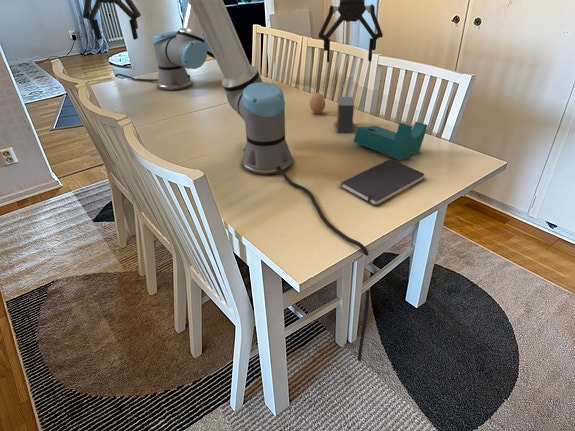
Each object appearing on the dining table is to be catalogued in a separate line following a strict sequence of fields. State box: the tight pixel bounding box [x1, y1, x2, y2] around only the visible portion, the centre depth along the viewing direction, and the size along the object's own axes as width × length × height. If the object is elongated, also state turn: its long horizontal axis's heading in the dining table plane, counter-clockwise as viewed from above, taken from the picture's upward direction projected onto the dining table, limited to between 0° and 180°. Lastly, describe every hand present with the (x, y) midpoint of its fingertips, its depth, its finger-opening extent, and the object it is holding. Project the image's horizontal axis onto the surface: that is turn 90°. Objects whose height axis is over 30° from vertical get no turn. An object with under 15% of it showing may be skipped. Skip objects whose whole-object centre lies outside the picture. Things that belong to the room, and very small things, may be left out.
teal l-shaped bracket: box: [353, 121, 428, 161], centre depth 129 cm, size 18×11×10 cm, turn 43°
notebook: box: [340, 158, 425, 206], centre depth 114 cm, size 13×2×21 cm
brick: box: [336, 96, 355, 133], centre depth 144 cm, size 9×5×10 cm, turn 176°
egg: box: [309, 92, 326, 114], centre depth 156 cm, size 6×6×8 cm
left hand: (117, 39), depth 150 cm, fingers open, 13 cm apart
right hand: (348, 60), depth 133 cm, fingers open, 13 cm apart
